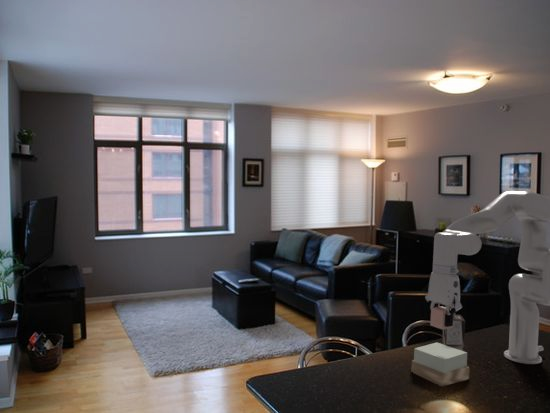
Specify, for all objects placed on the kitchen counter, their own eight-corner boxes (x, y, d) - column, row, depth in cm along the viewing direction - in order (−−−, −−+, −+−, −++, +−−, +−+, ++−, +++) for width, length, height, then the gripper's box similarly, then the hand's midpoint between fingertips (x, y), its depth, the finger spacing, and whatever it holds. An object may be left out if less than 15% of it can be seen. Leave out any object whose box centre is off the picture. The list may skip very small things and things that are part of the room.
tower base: (438, 366, 172) (438, 354, 171) (468, 380, 160) (469, 367, 160) (411, 373, 165) (411, 360, 165) (441, 387, 154) (441, 374, 154)
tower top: (436, 354, 171) (436, 342, 171) (466, 365, 161) (467, 352, 161) (413, 361, 164) (414, 348, 164) (444, 373, 154) (444, 359, 154)
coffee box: (463, 366, 172) (465, 321, 171) (444, 364, 173) (446, 319, 172) (459, 357, 181) (461, 314, 180) (441, 355, 182) (443, 313, 181)
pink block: (440, 323, 165) (441, 306, 165) (452, 327, 161) (453, 309, 160) (430, 325, 163) (431, 307, 162) (442, 329, 158) (442, 311, 158)
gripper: (473, 273, 155) (470, 329, 156) (432, 265, 170) (430, 316, 171) (457, 275, 151) (454, 332, 152) (417, 266, 166) (414, 318, 167)
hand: (441, 323), depth 162 cm, fingers closed on pink block, 5 cm apart
